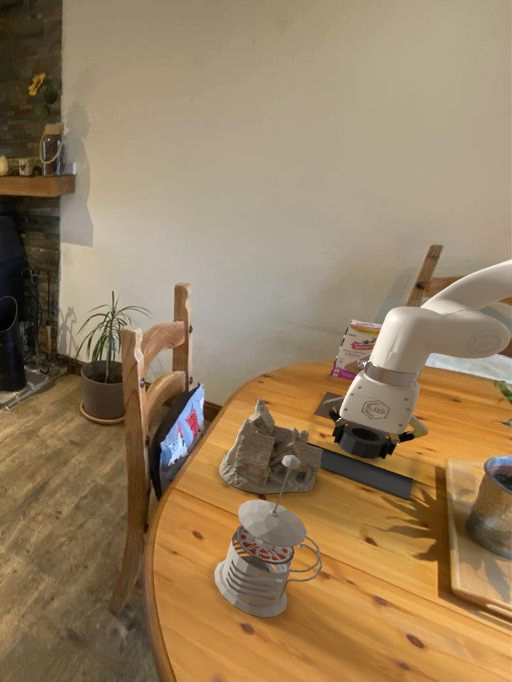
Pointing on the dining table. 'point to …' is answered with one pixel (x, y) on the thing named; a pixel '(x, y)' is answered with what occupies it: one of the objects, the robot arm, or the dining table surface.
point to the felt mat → (366, 473)
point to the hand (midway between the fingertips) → (359, 447)
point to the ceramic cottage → (269, 456)
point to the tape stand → (323, 412)
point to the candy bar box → (355, 348)
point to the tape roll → (362, 441)
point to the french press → (263, 555)
